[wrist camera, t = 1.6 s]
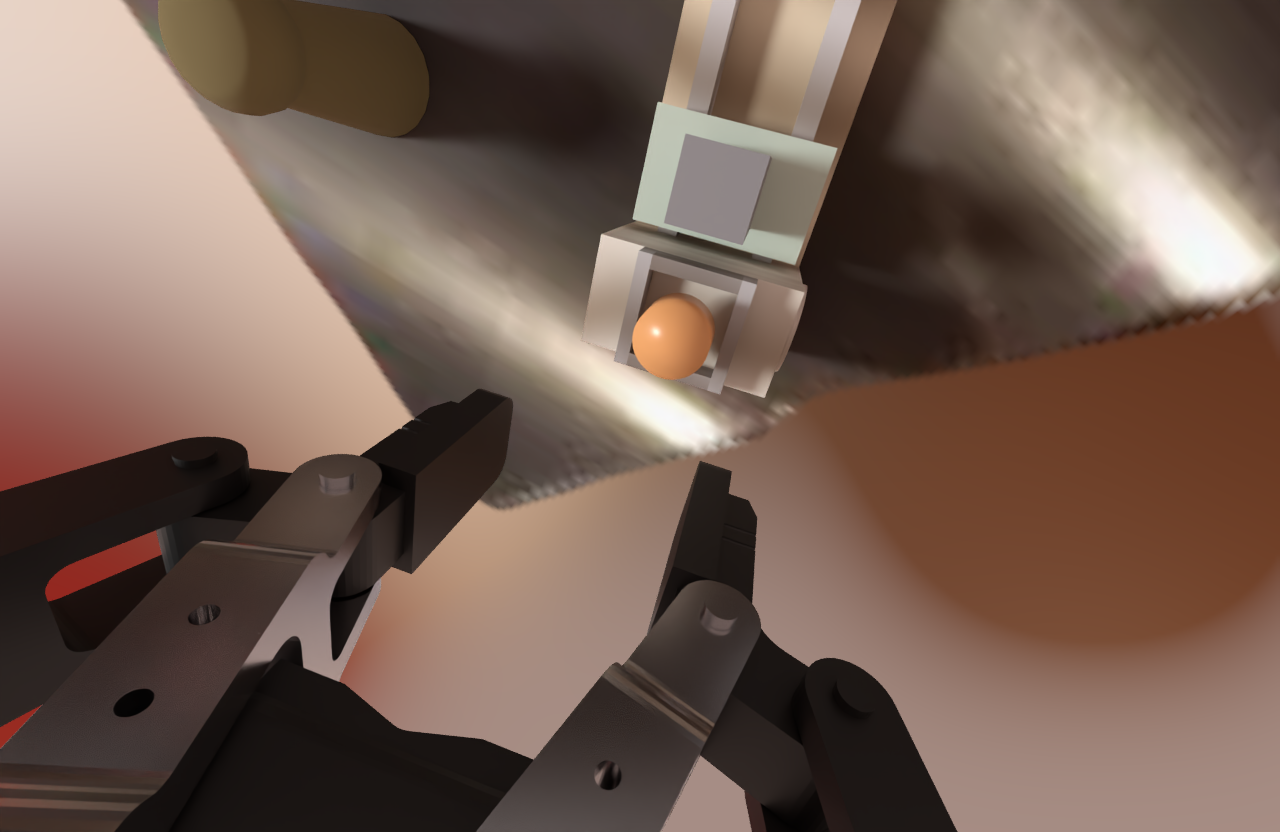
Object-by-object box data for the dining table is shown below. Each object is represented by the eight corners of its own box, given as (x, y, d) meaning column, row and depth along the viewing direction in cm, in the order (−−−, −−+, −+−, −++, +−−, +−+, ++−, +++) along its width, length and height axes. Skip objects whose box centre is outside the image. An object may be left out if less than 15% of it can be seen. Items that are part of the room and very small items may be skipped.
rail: (759, -303, 21) (748, -598, 13) (1005, -260, 20) (1159, -550, 12) (623, 303, 33) (572, 348, 24) (776, 349, 32) (776, 411, 23)
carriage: (664, 105, 25) (622, 82, 18) (834, 149, 24) (856, 141, 17) (639, 216, 27) (594, 232, 20) (794, 260, 26) (799, 291, 20)
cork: (446, 59, 29) (281, 5, 19) (405, 159, 32) (243, 156, 22) (354, -15, 29) (137, -108, 19) (321, 93, 32) (117, 60, 22)
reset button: (653, 283, 22) (642, 294, 20) (724, 304, 21) (719, 317, 20) (636, 351, 23) (624, 366, 21) (703, 371, 23) (696, 389, 21)
